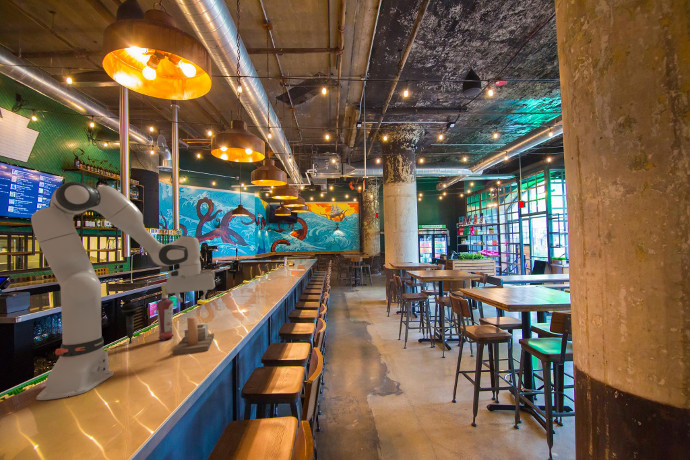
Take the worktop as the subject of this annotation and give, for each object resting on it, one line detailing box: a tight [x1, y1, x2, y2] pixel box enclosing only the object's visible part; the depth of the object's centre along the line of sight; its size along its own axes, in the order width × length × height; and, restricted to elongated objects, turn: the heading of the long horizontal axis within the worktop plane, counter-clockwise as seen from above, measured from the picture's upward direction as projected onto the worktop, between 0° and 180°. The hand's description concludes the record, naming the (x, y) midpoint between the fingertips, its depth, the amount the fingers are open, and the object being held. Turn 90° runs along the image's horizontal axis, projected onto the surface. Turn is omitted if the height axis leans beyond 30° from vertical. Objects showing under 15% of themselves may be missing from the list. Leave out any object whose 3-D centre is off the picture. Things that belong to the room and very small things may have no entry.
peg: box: [186, 316, 198, 346], centre depth 145 cm, size 4×4×12 cm
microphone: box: [120, 302, 139, 344], centre depth 159 cm, size 7×7×20 cm
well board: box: [172, 323, 215, 356], centre depth 150 cm, size 22×14×8 cm, turn 16°
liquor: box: [156, 283, 174, 341], centre depth 164 cm, size 7×7×28 cm
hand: (191, 301), depth 146 cm, fingers open, 8 cm apart
